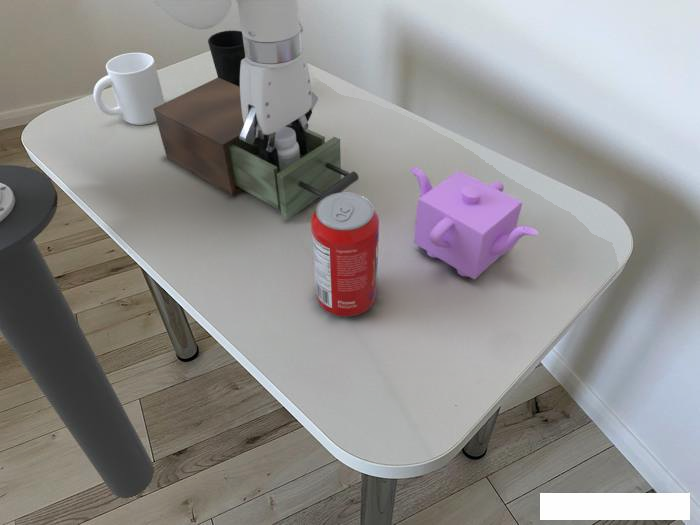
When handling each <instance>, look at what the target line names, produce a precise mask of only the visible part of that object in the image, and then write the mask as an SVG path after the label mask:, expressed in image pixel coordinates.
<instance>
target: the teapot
mask: <svg viewBox="0 0 700 525" xmlns="http://www.w3.org/2000/svg"><path fill="white" fill-rule="evenodd" d="M410 171H411V173H412V174H413V175H414V176H415V177H416V179H417V181H418V185H419V193H420V194H419V198H418V199H417V205H416V216H415V219H416V220H415V225H414V226H415V228H414V238H413V243H414V244H415V245H416V246H418V247H420V248H421V249H423V250H425V251H426V254H427V256H429V257H431V258H437V259H439V260H441V261H443V262H444V263H446V264H448V265H449V266H450V267H452V268H454V269H456V272H457V274H458V275H460V276H461V277H469V278H470V279H472V280H476V278H478V277H479V276H480V275H481V274H482V273H483V272H485V271H486V270H487V269H488V268H489V267H490V266H492V264H493V263H495V262H496V261H497V260H498V259H500V257H501V256H503V255H504V254H507V253H508V252H510V251H511V250H512V249H513V248H514V247H515V245H516V244H517V243H518V241H520V240H521V238H522V237H525V236H538V235H539V232H538V231H537V230H536V229H535V228H533V227H531V226H528V225H518V221H519V218H520V214H521V210H522V206H523V202H522V201H520V200H519V199H516V198H514V197H513V196H511V195H510V194H507V193H505V192H504V188H505V187H504V184H503V183H502V182H500V181H494V182H491V183H489V184H487V183H485V182H483V181H481V180H479V179H477V178H475V177H473V176H471V175H469V174H467V173H465V172H463V171H461V170H457V171H456V172H454V173H452V175H450V176H449V177H447V178H445V179H444V180H443V181H441V182H440V183H439V184H437V185H436V186H434V187H433V186H432V184H431V182H430V181H431V180H430V179H429V177H428V176H427V174H426V173H425V172H424V171H423V170H422V169H420V168H418V167H413V166H412V167H410ZM517 225H518V226H517Z"/></svg>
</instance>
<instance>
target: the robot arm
mask: <svg viewBox="0 0 700 525" xmlns="http://www.w3.org/2000/svg"><path fill="white" fill-rule="evenodd" d="M151 1H152V2H153V3H154V4H155V5H156V6H157V7H159V9H160V10H162V11H163V12H164V13H165V14H166V15H168V16H169V17H171V18H172V19H174V20H175V21H177V22H178V23H180V24H182V25H184V26H187V27H188V28H191V29H196V30H207V29H211V28H213V27H215V26H218V25H219V24H220V23H222V22H223V21H224V20H225V19H226V17H227V16H228V14H229V12H230V10H231V7H232V2H233V0H151ZM235 1H236V3H237V7H238V15H239V22H240V28H241V29H240V31H242V36H243V43H244V50H245V58H244V59H242V60H241V67H240V97H241V109H242V117H243V122H244V126H243V128H242V131H241V133H240V136H239V138H240V140H242V141H244V142H246V143H249V144H252V145H255V146H257V147H259V149H260V156H261V159H263V160H265V161H267V162H268V163H270V164H272V165H274V166H276V167H277V168H278V172H279V170H280V168H279V159H278V151H277V149H275V148H274V143H275V135H276V131H278V130H279V129H281V128H283V127H285V126H286V125H288V124H291V125H290V126H288V127H290V128H292V129H293V130H294V131H295V134H296V141H297V143H298V144H299V151H300V154H301V155H305V154H307V145H306V132H305V131H306V130H307V129H309V127H310V125H309V120H310V118H311V116H312V114H313V110H314V108H315V106H316V104H317V103H318V101H319V97H318V96H317V95H316V94H315V93H314V91H312V82H311V75H310V70H309V65H308V60H307V56H306V52H305V49H304V47H303V46H302V33H303V31H304V28H303V26H302V24H301V19H300V18H301V17H300V6H299V0H235ZM255 130H256V135H255V136H254V132H255ZM264 134H265V135H267V139H266V141H264V140H263V139H264ZM14 205H15V196H14V194H13V192H12V190H11V189H10V188H9V187H8V186H6V185H5V184H2V183H0V222H1V221H2V220H3V219H4V218H6V217H7V216H8V214H9V213H10V212H11V211H12V209H13V207H14Z"/></svg>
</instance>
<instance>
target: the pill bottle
mask: <svg viewBox="0 0 700 525" xmlns="http://www.w3.org/2000/svg"><path fill="white" fill-rule="evenodd" d="M274 148H275V149H277V151H278V159H279V168H280V170H279V172H281V171H282V170H284V169H285V168H287V167H288V166H290V165H292V164H293V163H295V162H296V161H298V160H299V159H300V151H299V144H298V143H297V141H296V134H295V131H294V130H293V129H292V128H290V127H283V128H281V129H279V130H278V131H276V135H275V143H274ZM279 172H278V173H279Z"/></svg>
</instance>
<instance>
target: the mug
mask: <svg viewBox="0 0 700 525" xmlns="http://www.w3.org/2000/svg"><path fill="white" fill-rule="evenodd" d="M105 70H106V72H107V75H105V76H102V78H100V79H99V80H98V81H97V82H96V84H95V85H94V87H93V99H94V103H95V105H96V107H97V109H98V110H99V111H101V112H102V113H103V114H105V115H108V116H119V115H121V117H122V119H123V120H124V121H125V122H126V123H129V124H131V125H136V126H144V125H149V124H153V123H157V120H156V116H155V113H154V108H156V107H158V106H160V105H162V104H164V103H166V101H165V98H164V93H163V90H162V85H161V81H160V78H159V73H158V70H157V65H156V62H155V58H154V57H153V56H152V55H150V54H149V53H145V52H128V53H122V54H119V55H117V56H114V57H113V58H111V59H109V60H108V61H107V62H106V64H105ZM110 85H111V88H112V91H113V94H114V98H115V100H116V103H117V106H115V107H109V106H107V105H106V104H105V103H104V101H103V97H102V96H103V95H102V94H103V91H104V89H105V88H106V87H108V86H110Z"/></svg>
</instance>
